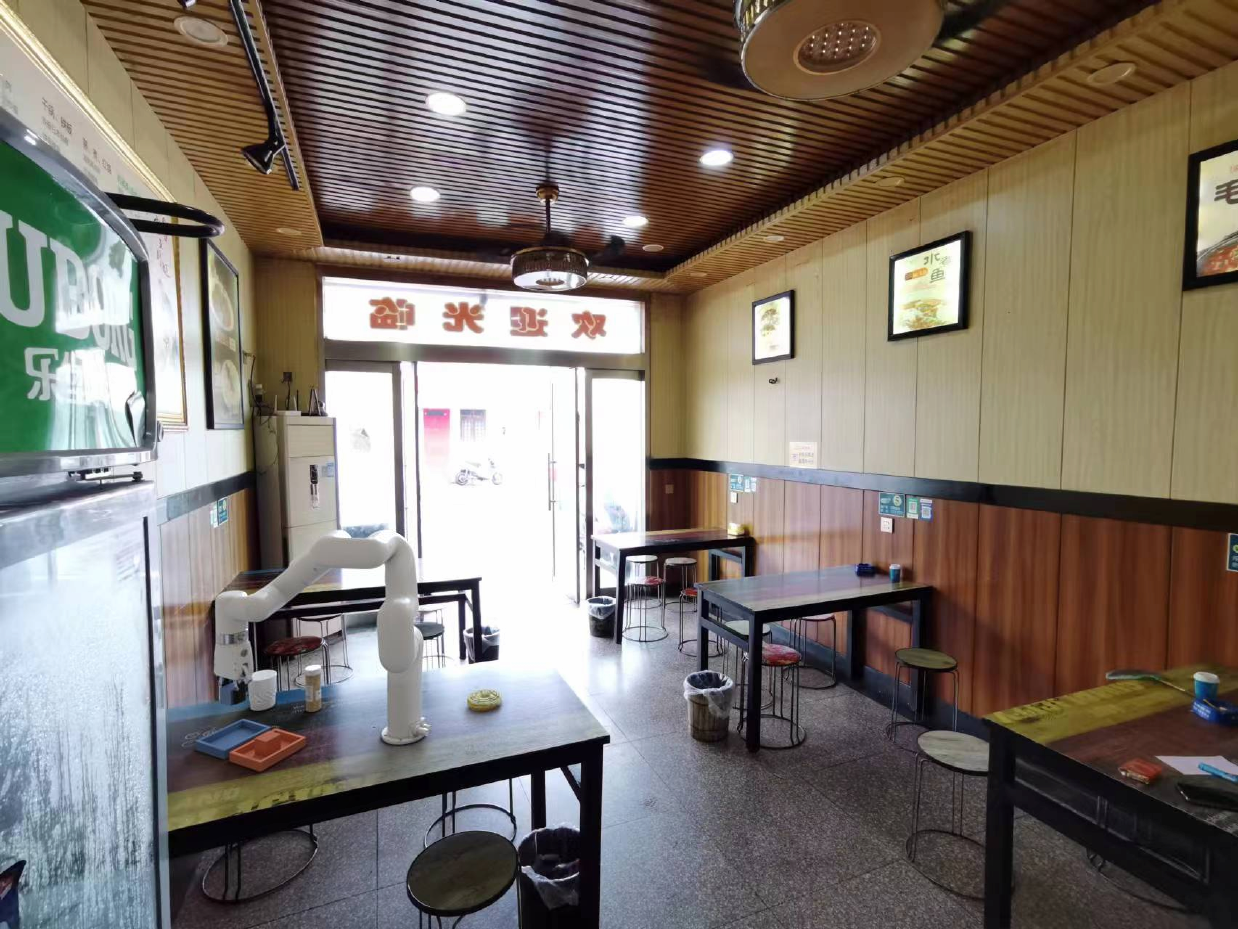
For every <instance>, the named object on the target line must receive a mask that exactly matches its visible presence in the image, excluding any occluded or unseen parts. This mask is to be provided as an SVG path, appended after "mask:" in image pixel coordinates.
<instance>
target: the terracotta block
mask: <svg viewBox="0 0 1238 929" xmlns="http://www.w3.org/2000/svg"><path fill="white" fill-rule="evenodd" d="M254 741H255V754H256V755H260V756H263V757H268V756H270V755H271V754H273V753H275V752H277V751H279V750H281V734H279V733H275V732H272V730H271V731H268V732H266V733H264V734H262V735H260V736H258V737H256V738H254Z"/></svg>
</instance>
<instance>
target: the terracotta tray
mask: <svg viewBox="0 0 1238 929" xmlns="http://www.w3.org/2000/svg"><path fill="white" fill-rule="evenodd" d="M271 731H272V732H275V733H279V734H281V750H279V751H277V752H275V753H273V754H271V755H270V756H268V757H263V756H260V755H256V754H255V741H254V740H252V741H251V742H249V743H247V744H245V745H243V746H241V747H239V748H237V749H235V750H233V751H231V752H229V758H228V759H229V762H230V763H233V764H236V765H239V766H242V767H245V768H248V769H251V770H254V771H257V772H260V773H261V772H263V771H265V770H267V769H268V768H269V767H271V766H273V765H275V764H277V763H278V762H280V761H282V760H284V759H286V758H288V757H289V756H291V755H292V754H294V753H296V752H298V751H300V750H301V749H302V748H305V747H306V745H307V737H306V736H304V735H300V734H296V733H293V732H290V731H286V730H283V729H279V728H274V729H271Z"/></svg>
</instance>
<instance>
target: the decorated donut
mask: <svg viewBox="0 0 1238 929" xmlns="http://www.w3.org/2000/svg"><path fill="white" fill-rule="evenodd" d="M502 699H503V696H502V694H501V693H500V691H498V690H495V689H481V690H480V689H479V690H475V691H473V692H471V693H470V694H468V695H467V699H466V702H467V705H468V707H469V708H470V709H471V710H473V711H474V712H491V711H492V710H494V709H497V707H499V706H500V705H501V703H502Z"/></svg>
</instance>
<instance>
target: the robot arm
mask: <svg viewBox="0 0 1238 929" xmlns="http://www.w3.org/2000/svg"><path fill="white" fill-rule="evenodd" d="M383 565H384V584H385V599H384V602H383V603H382V605H381V606H380V607H379V609H378V611H377V616H376V633H377V634H376V635H377V650H378V659H379V662H380V665H381V666H382V667H383V669H384V670H386V671H387V672H386V725H387V726H385V727H384V728H383V729H382V730H381V734H380V735H381V740H382V741H383V742H385V743H386V744H389V745H397V746H398V745H407V744H412V743H416V741H419V740H421V739H422V738H423V737H428V736H429V735H430V732H431V730H432V727H433V726H432V725H430V724H427V723H426V717H424V716H423V661H424V645H425V644H424V643H425V642H424V637H423V634H422V632H421V630H420V629H419V628H418V627H416V626H415V619H416V617H417V616H418V614H419V611H420V610H419V609H420V603H419V592H418V579H417V578H418V577H417V567H416V558H415V554H414V550H413V548H412V546H411V545H410V543H409V542H408V540H407V539H406V538H405V537H404V536H403V535H401V534H399V533H397V532H395V531H392V530H388V529H380V530H376V531H374V532H373V533H370V534H369V535H368V536H367V537H352V536H351V535H350V534H349V533H348V532H347V531H345V530H341V529H334V530H329V531H328V532H326V533H324V534H323V535H321V536H319V537H318V538H316V539H315V540H314V541H313V542H312V544H311V545H310V546H309V547H307V549H305V550H303V552H301V553H300V554H299V555H297V556H296V557H295V558H293V559H292V560H291V561H290V562H289V564H288V567H287V568H286V569H285V570H284V571H283V572H282V573H280V574H279V575H278V576H277V577H276V578H274V579H273V580H271V582H269V583H268V584H266V585H265V586H264V587H262V588H260V589H259V590H257V591H255V592H254V593H251V594H249V595H248V593H246V592H245V591H243V590H228V591H223V592H221V593H219V594H217V595H216V597H215V601H214V606H215V609H214V610H215V611H214V612H215V615H214V616H215V617H214V618H215V647H214V656H213V674H214V675H215V677H216V679H217V680H218V686H219V688H220V687H223V686H225V685H228V684H230V683H232V681H233V682H234V687H235V690H234V691H233V704H234V705H233V706H236V705H239V704H241V703H244V702H245V701H246V700H247V688H248V684H249V683H250V682H251V681H252V680H253V678H252V676H251V675H252V674H253V673H254V659H253V658H254V657H253V649H252V646H251V641H250V640H249V622H250V623H259V622H262V621H264V620H267V619H268V618H270V617H271V616H272V615H273V614H275V613H276V612H277V611H279V610H280V609H281V608H282V607H284V606H285V605H286V604H288V602H290V601H291V600H293V599H294V598H295V597H296V596H297V595H299V594H300V593H301V592H303V591H304V590H305V589H306V588H308V587H310V586H312V585H313V584H315V583H317V581H318V580H319V579H321V578H322V577H323V576H325V575H326V574H327V573H328V572H330V571H331V570H332V569H347V570H349V569H350V570H373V569H377V568H379V567H381V566H383ZM239 681H240V682H239ZM239 683H240V684H239Z"/></svg>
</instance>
